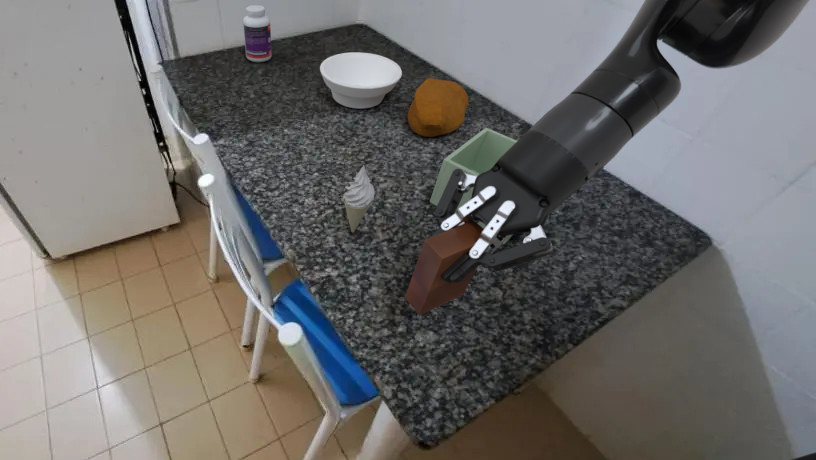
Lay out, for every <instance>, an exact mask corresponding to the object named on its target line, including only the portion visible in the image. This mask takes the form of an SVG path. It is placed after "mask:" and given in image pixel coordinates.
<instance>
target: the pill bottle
mask: <svg viewBox="0 0 816 460" xmlns="http://www.w3.org/2000/svg"><path fill="white" fill-rule="evenodd" d="M245 13H246V16H244V17H243V19H242V27H243V39H244V47H245V57H246V58H247V60H249V61H251V62H252V63H264V62H268V61H269V60H271V59H272V57H273V52H272V51H273V50H272V33H271V20H270V19H271V18H269V16H268V15H266V7H265V6H264V5H258V4H256V5H255V4H254V5H248V6H246V7H245Z"/></svg>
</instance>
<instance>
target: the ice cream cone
mask: <svg viewBox="0 0 816 460" xmlns="http://www.w3.org/2000/svg"><path fill="white" fill-rule="evenodd" d="M353 180H354V181H349V182H348V185H350V186H345V187H344V188H345V189H346V190H347V191H345V192H344V193H343V195H342V201H343V203H344V206H345V207H344V208H345V211H346V215H347V219H348V223H349V229H350V232H351V233H355V231H356V230H357V228H358V226H359V224H360V223H361V221H362V219H363V218H364V216H365V215H366V213H367V211H368V210H369V208H370V206H371V205H372V204H373V201H374V199H375V195H376V194H375V193H376V192H375V189H374V185H373V184H372V183H370V182H371V180H370V178H369V175H368V173H367V170H366V167H365V165H364V164H363V165H362V167H361V168H360V170H359V171H358V173H357V174H356V175H355V176H354V177H353Z"/></svg>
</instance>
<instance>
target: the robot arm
mask: <svg viewBox="0 0 816 460" xmlns="http://www.w3.org/2000/svg"><path fill="white" fill-rule="evenodd" d="M809 1H810V0H644V1H643V3H642V5H641V6H640V8H639V10H638V11H637V13H636V15H635V16H634V18H633V19H632V22H631V23H630V25H629V26H628V28H627V29H626V31H625V32H624V34H623V35H622V37H621V39H619V41H618V42H617V43H616V45H615V46H614V48H613V49H612V50H611V51H610V52H609V53H608V55H606V57H605V58H604V60H603V61H602V62H600V64H598V66H597V67H596V68H594V69H593V71H592V72H591V73H589V75H588V76H586V78H585V79H584V80H583V81H581V83H579V84H578V86H576V87H575V89H574V90H572V91H571V92H570V93H569V94H568V95H567V96H566V97H564V99H562V100H561V101H559V102H558V103H557V104H556V105H554V106H553V107H551V108H550V109H549V110H548V111H547V112H546V113H545V114H544V115H543V116H542V117H541V118H539V120H537V121H536V122H535V123H534V124H533V125H532V126H531V127H530V128H529V129H528V130H527V131H526V132H525V133H524V134H523V135H522V136H521V137H520V138H519V139H518V140H516V141H517V142H516V143H515V144H514V145H513V146H512V147H511V148H510V149H509V150H508V151H507V152H506V153H505V154H504V155H503V156H502V157H501V158H500V159H499V160H498V161H497V162H496V164H495V165H494V166H493V167H492V168H491V169H490V170H488V171H486V172H483V173H481V174H479V175H478V176H475V175H470V174H466V173H464V172H463V171H462V170H461V169H455V170H454V171H453V172H452V175H451V177H450V179H449V181H448V183H447V186H446V188H445V190H444V192H443V194H442V197H441V199H440V201H439V203H438V205H437V206H436V208H435V210H434V214H435V216H436V217H437V219H438V222H439V227H438V229H437V230H435V231H434V232H433V233H432V234H431V235H430V237H433V236H435V235H438V234H440V233H443V232H445V231H448V230H450V229H453V228H455V227H458V226H460V225H463V224H465V223H467V224H468V223H472V222H477V223H478V222H482V223H484V224H485V225H486V227H485V229H484V230H483V231H482V233H481V235H480V238H479V239H478V241H477V242H476V243H475V245H474V246H473V247H472V248H471V250H470V251H469V253H468V254H466V253H464V254H463V255H462V256H461V257H460V258H459V259H458V260H457V261H455V262H454V263H453V264H452V265H451V266H450V267H449V268H448V269H447V270H446V271H444V272H443V273H442V274H441V278H442V279H443V280H444V281H445V282H448V283H451V282H455V283H457V282H460V281H462V280H463V279H464V278H465V277H466V276H467V275H468V274H469V273H471V272H472V271H473V270H474V269H475V268H476V267H477V266H478V267H479V266H486V267H488V268H491V269H493V270H494V271H495V272H502V271H504V270H507V269H511V268H513V267H516V266H519V265H520V266H521V265H523V264H526V263H529V262H532V261H534V260H537V259H540V258H544V257H547V256H550V255H552V254H553V253H554V250H555V247H554V245H553V243H552V242H551V241H550V240H549V238H548V237H547V235H546V232H545V230H544V228H543V227H544V226H545V224H546V222H547V219H548V217H549V216H550V214H551V213H552V212H554V211H555V210H556V209H557V208H559V207H560V206H561V205H562V204H563V203H565V202H566V201H567V200H568V199H569V198H570V197H571V196H572V195H574V194H575V192H577V191H578V190H579V189H580V188H581V187H583V186H584V184H586V183H587V182H589V181H590V179H592V178H593V177H595V176H597V175H598V174H600V173H601V172H602V171H603V169H604V168H605V166H606V165H608V164H609V163H610V162H611V161H612V160H613V159H614V158H615V157H616V156H617V155H618V153H619V152H620V151H621V150H622V149H623V148H624V147H625V146H626V144H627V143H629V141H631V140H632V139H633V138H634V137H635V136H636V135H637V134H638V133H640V132H641V131H642V130H643V129H644V128H645V127H646V126H647V125H649V124H650V123H651V122H653V120H654V119H656V117H658V116H659V115H660V114H661V113H662V112H663V111H664V110H666V109H667V108H668V107H669V106H670V105H671V104H672V103H673V102H674V101H675V100H676V99H677V97H678V96H679V95H680V93H681V90H682V81H681V78H680V75H679V73H677V71H676V70H675V69H674V67H673V66H672V64H671V63H670V62H669V61H668V60H667V58H665V56H664V55H663V54H662V52H661V51H660V49H659V47H658V41H659V42H660V41H661V42H662V44H664V45H666V46H668V47H670V48H671V49H673V50H674V51H676V52H678V53H679V54H681V55H683V56H684V57H687V58H688V59H690V60H691V61H693V62H695V63H696V64H698V65H699V66H701V67H705V68H708V69H715V70H716V69H717V70H719V69H720V70H721V69H728V68H733V67H738V66H739V65H740V66H741V65H742V64H745V63H747V62H750V61H751V60H753V59H755V58H757V57H758V56H760V55H761V54H763V53H764V52H765V51H767V50H768V49H769V48H770V47H772V46H773V45H774V44H775V43H776V42H777V41H778V40H779V39H780V38H781V37H782V36H783V35H784V34H785V33H786V31H788V29H789V28H790V26H792V24H793V23H794V22H795V21H796V20H797V18H798V16H799V15H800V14H801V12H802V11H803V10H804V8H805V7H806V6H807V4H808V3H809ZM472 187H474V188H473V192H472V197H471V200H470V201H468V202H467V203H465V204H464V205H463V206H461V207H460V208H458V209H457V207H458V205H459V203H460V201H461V199H462V196H463V194H464V193H467V192H468V191H469V190H470V189H471V188H472ZM456 210H457V211H456ZM455 212H456V213H455ZM524 233H529V234H528V235H527V236H525V237H524V238H523V240H522V243H520V244H518V245H515V246H513V247H510V248H507V249H503V250H501V251H498V252H496V253H494V252H495V251H496V250H497V249H499V248H500V247H501V246H502V245H504V244H503V242H504V241H505V240H506V239H507V237H508V236H509V235H512V236H513V235H519V234H524ZM422 246H423V244H422V245H421V249H422ZM478 267H477V268H478ZM790 460H816V451H815V452H812V453H809V454H808V453H807V454H805V455H802V456H797V457H794V458H791V459H790Z"/></svg>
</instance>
